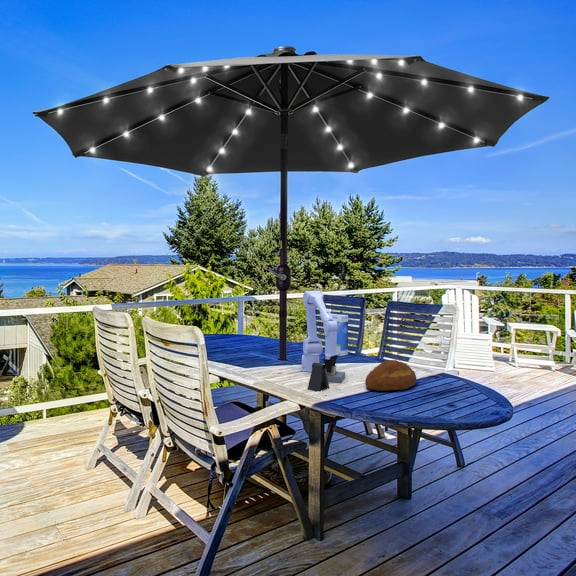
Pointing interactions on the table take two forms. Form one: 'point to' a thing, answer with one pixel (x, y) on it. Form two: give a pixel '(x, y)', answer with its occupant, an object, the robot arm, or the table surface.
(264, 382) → the table surface
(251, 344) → the table surface
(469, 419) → the table surface
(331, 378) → the socket block
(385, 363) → the bread
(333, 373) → the square peg
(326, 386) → the phone stand
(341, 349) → the string lights box
